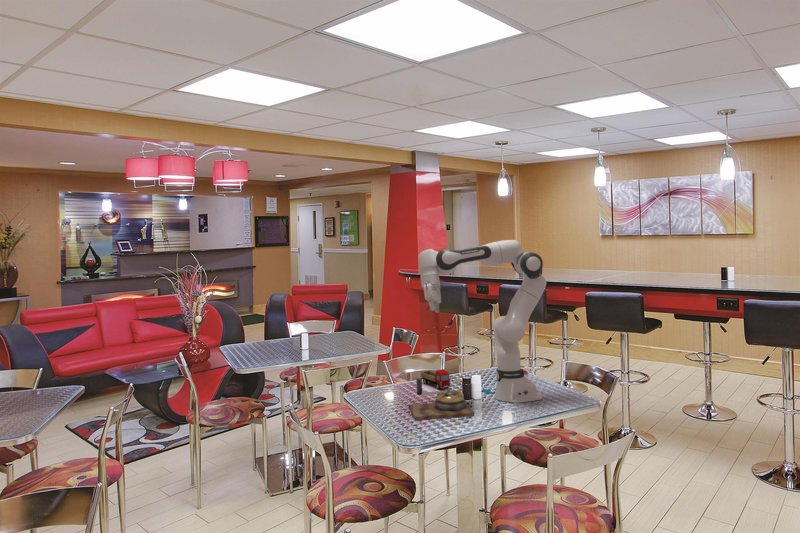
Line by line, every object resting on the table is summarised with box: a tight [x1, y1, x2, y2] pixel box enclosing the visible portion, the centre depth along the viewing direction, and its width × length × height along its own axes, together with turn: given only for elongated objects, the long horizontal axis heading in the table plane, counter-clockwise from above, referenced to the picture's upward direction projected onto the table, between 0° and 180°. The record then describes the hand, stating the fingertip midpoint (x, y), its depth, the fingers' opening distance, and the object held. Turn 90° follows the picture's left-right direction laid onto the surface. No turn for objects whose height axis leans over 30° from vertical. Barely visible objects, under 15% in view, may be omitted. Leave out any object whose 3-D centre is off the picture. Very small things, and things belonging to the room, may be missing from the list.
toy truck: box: [420, 368, 452, 391], centre depth 280 cm, size 7×21×10 cm, turn 28°
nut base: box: [408, 398, 475, 421], centre depth 236 cm, size 26×18×4 cm
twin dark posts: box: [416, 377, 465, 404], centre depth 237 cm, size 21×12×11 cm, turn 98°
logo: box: [453, 378, 496, 395], centre depth 278 cm, size 34×1×10 cm
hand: (434, 311), depth 248 cm, fingers open, 8 cm apart
